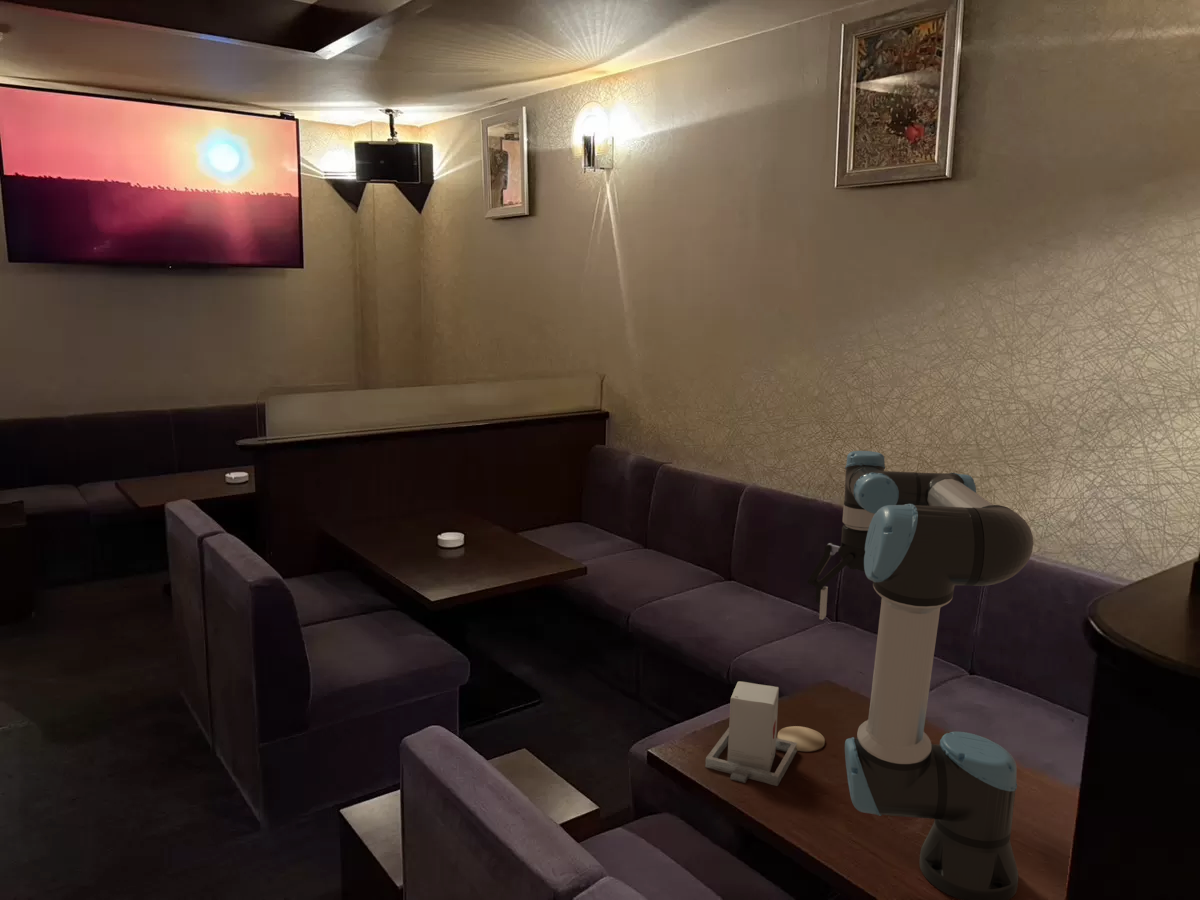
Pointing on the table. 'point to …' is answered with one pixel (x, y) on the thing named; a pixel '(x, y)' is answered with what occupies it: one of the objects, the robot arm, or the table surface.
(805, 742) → the coaster
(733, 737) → the supplement box
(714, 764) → the grey frame with tab
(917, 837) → the table surface
